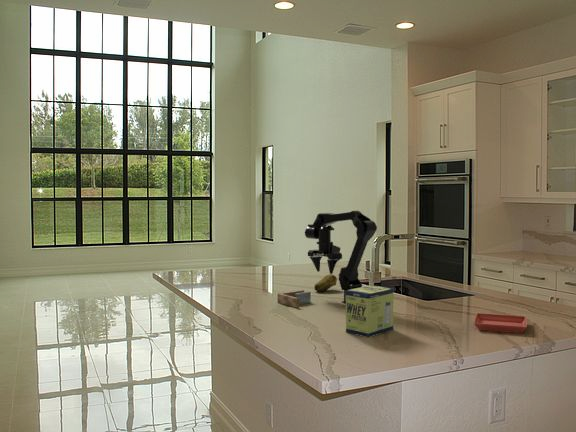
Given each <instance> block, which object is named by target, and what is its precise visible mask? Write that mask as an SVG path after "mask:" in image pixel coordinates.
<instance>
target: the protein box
mask: <svg viewBox="0 0 576 432" xmlns="http://www.w3.org/2000/svg"><path fill="white" fill-rule="evenodd" d="M390 330H391V331H394V288H392V287H386V286H379V285H372V284H370V285H366V286H365V285H364V286H362V287H360V288H356V289H351V290H346V303H345V332H346V333H347V332H348V333H347V334H351V335H356V334H358V335H357V336H360V335H362V336H361V337H364V336H366V337H365V338H371V337H374V336H373V335H375V336H377V335H376V334H378V335H380V333H381V334H384V333H387V331H388V332H390ZM383 332H384V333H383ZM370 336H371V337H370Z"/></svg>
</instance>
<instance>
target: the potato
mask: <svg viewBox="0 0 576 432" xmlns="http://www.w3.org/2000/svg"><path fill="white" fill-rule="evenodd" d="M337 281H338V278H337V276H336V275H334V274H330V273H329V274H327V275H325V276H324V277H323V278H321V280H319V281H317V282H316V283H315V284H314V286H313V287H314V290H315V292H318V293H319V292H325V291H327V290H329V289H330V288H333V287H334V286H336V285H337V283H338V282H337Z"/></svg>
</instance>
